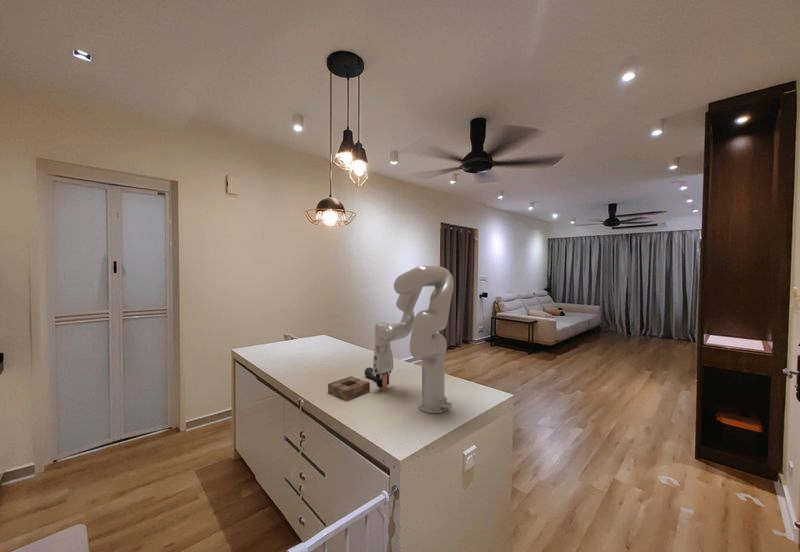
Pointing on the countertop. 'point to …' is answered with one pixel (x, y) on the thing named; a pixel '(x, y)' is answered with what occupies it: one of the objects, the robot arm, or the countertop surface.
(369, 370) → the flashlight
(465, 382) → the countertop surface
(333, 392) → the walnut block
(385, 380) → the pin
